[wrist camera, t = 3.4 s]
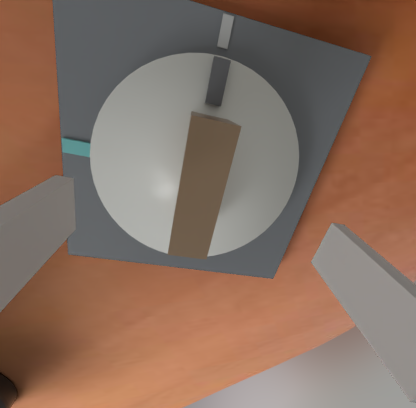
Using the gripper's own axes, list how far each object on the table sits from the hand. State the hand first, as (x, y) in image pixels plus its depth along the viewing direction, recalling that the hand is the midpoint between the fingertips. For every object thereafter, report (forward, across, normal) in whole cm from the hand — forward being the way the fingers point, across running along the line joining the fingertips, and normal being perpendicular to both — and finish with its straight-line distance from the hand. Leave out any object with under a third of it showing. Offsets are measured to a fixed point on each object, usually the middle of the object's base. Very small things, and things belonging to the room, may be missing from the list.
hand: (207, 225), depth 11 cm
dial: (+10, 0, 0) cm, 11 cm away
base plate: (+12, 0, 0) cm, 13 cm away
